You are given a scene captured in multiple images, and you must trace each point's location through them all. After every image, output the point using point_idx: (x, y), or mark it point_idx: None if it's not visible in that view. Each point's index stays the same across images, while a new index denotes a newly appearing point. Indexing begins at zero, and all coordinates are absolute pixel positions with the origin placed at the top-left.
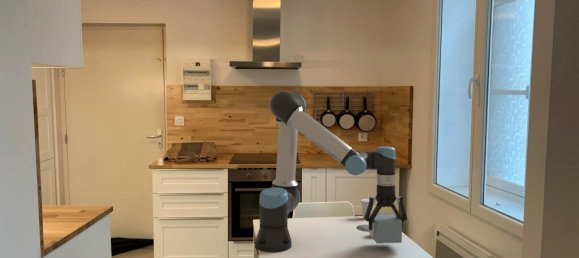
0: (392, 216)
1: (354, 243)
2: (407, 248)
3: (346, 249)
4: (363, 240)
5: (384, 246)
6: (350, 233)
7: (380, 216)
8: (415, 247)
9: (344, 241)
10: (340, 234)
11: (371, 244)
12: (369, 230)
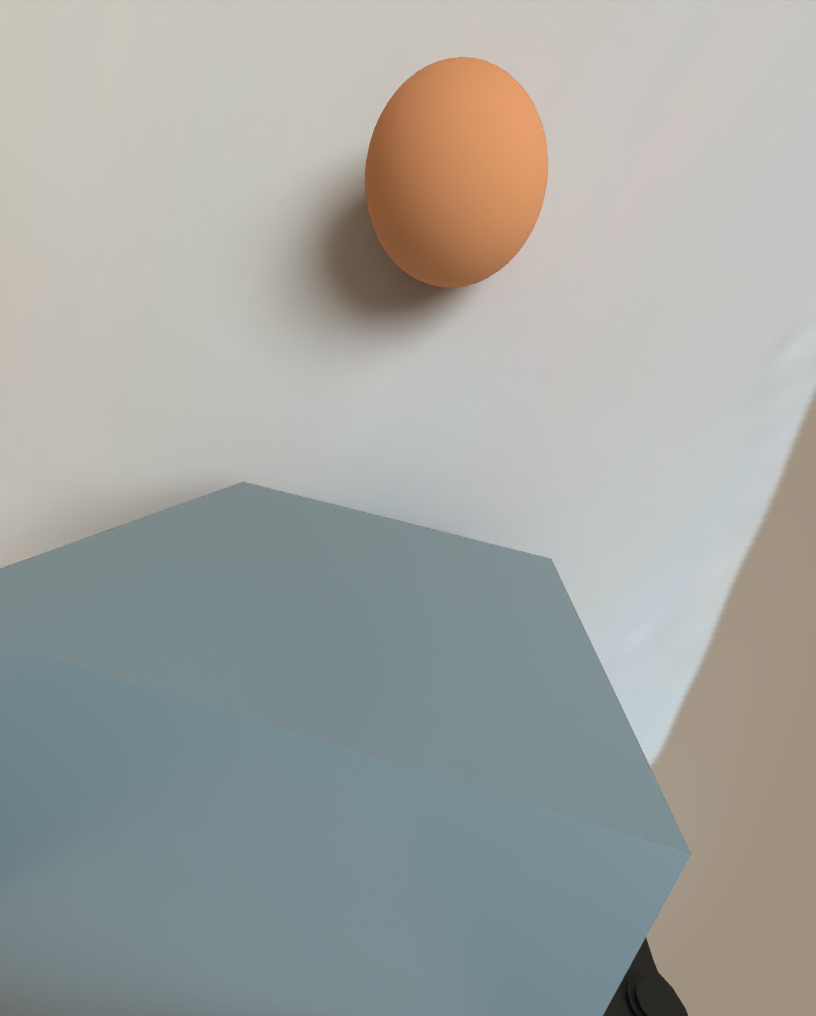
0: (483, 982)
1: (142, 414)
2: None
3: (42, 538)
4: (260, 349)
5: None
6: (192, 13)
7: (139, 837)
8: (677, 693)
9: (60, 327)
10: (58, 36)
11: (294, 490)
12: (366, 181)
